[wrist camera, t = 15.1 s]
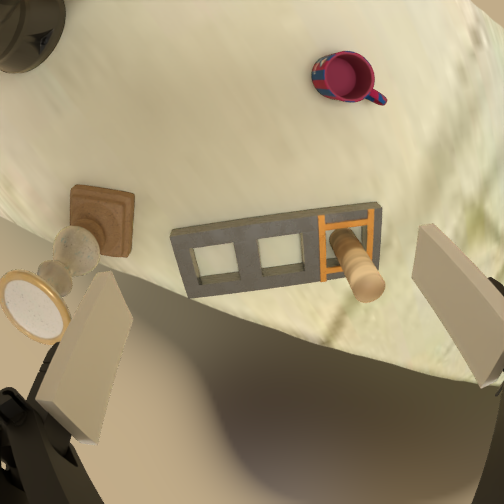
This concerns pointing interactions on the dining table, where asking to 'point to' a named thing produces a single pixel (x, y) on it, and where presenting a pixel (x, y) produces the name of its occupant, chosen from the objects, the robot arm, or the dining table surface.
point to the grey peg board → (254, 228)
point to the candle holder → (68, 262)
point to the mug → (346, 78)
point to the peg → (357, 266)
